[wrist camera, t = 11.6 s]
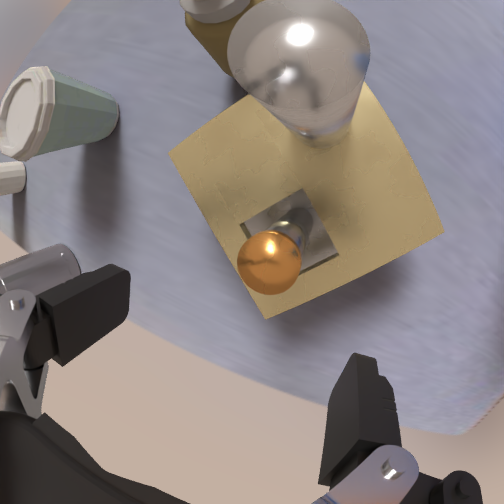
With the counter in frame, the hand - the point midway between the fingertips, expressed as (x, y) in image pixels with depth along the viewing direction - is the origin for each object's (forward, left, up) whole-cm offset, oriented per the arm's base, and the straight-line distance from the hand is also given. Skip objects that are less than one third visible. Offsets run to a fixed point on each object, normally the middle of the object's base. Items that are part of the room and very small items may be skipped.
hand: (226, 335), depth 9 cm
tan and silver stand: (+3, +3, -22) cm, 22 cm away
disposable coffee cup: (-15, +25, -22) cm, 37 cm away
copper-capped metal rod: (0, 0, -21) cm, 21 cm away
